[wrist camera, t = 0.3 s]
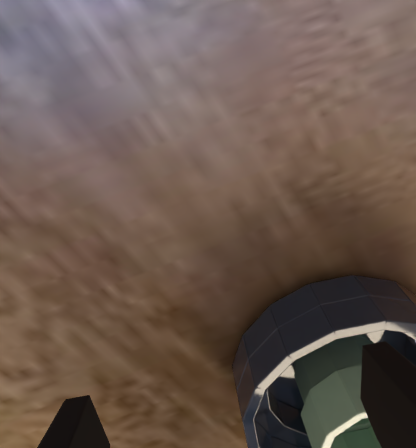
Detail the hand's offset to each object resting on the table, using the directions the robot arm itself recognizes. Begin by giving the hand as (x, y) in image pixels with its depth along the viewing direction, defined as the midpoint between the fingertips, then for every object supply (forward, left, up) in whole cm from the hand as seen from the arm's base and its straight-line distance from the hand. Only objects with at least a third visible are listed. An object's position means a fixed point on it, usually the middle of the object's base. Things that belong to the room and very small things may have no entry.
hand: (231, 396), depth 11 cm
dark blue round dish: (-10, -6, -10) cm, 16 cm away
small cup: (-10, -6, -10) cm, 15 cm away
